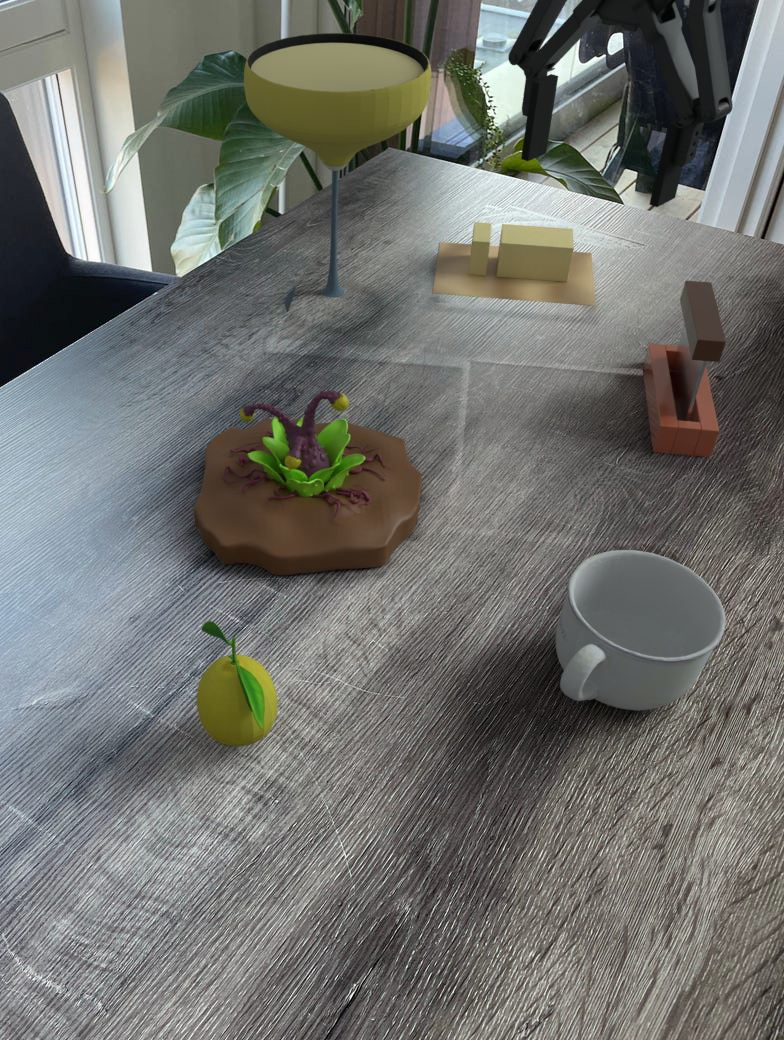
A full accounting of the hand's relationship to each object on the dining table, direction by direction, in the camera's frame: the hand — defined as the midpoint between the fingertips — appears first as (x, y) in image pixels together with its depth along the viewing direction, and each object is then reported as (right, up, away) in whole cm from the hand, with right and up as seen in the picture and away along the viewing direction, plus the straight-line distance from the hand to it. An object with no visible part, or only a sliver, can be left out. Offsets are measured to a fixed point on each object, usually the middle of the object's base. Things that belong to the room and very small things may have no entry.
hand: (595, 178), depth 91 cm
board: (-1, +1, +29) cm, 29 cm away
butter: (+1, +2, +29) cm, 29 cm away
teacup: (-3, -44, -14) cm, 46 cm away
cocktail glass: (-22, -3, +26) cm, 35 cm away
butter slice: (-5, +3, +29) cm, 30 cm away
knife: (+10, -18, +10) cm, 23 cm away
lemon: (-30, -47, -18) cm, 59 cm away
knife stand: (+10, -19, +10) cm, 24 cm away
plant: (-25, -28, +1) cm, 38 cm away
